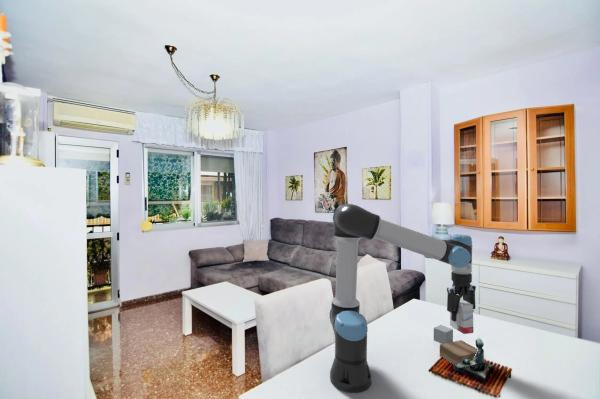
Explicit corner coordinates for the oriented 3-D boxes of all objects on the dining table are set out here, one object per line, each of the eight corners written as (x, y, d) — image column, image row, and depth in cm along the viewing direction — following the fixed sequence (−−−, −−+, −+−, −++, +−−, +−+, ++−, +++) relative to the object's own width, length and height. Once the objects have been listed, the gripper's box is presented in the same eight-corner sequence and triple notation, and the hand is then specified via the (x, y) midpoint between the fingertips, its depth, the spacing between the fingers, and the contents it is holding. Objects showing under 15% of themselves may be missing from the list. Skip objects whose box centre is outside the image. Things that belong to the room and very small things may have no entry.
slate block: (445, 345, 137) (445, 332, 137) (433, 340, 142) (433, 327, 142) (452, 342, 140) (453, 329, 140) (440, 337, 145) (440, 324, 145)
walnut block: (459, 369, 118) (459, 356, 118) (439, 356, 128) (439, 344, 127) (481, 363, 122) (481, 351, 122) (460, 351, 132) (461, 340, 131)
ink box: (474, 333, 121) (474, 304, 121) (462, 334, 120) (463, 305, 120) (459, 324, 129) (459, 297, 129) (448, 325, 129) (449, 297, 128)
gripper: (451, 276, 118) (451, 335, 118) (486, 272, 124) (485, 327, 124) (436, 271, 125) (436, 327, 125) (470, 268, 131) (470, 320, 131)
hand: (461, 327), depth 125 cm, fingers closed on ink box, 6 cm apart
